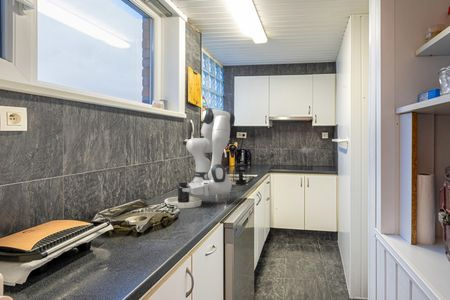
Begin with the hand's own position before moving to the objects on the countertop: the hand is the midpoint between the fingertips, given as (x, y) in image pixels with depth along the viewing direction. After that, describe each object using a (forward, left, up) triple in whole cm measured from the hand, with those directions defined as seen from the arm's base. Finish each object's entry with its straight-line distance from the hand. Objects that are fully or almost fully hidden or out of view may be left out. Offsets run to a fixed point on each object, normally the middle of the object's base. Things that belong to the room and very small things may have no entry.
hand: (181, 188), depth 192 cm
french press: (-56, +71, -10) cm, 91 cm away
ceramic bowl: (0, +1, -9) cm, 9 cm away
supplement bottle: (0, +1, -8) cm, 8 cm away
